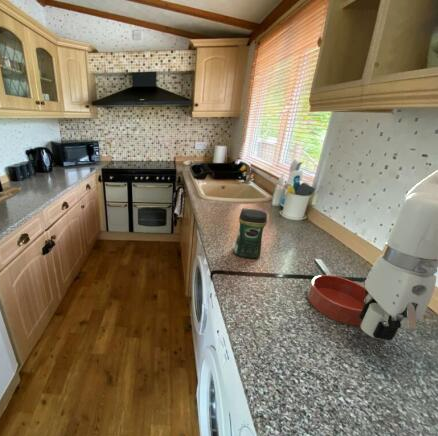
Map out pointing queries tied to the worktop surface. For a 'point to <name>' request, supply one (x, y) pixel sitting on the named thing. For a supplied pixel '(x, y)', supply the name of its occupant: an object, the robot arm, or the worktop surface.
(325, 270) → the pan handle
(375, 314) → the pale grey cylinder
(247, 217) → the coffee jar
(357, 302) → the pan
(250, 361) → the worktop surface
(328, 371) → the worktop surface
